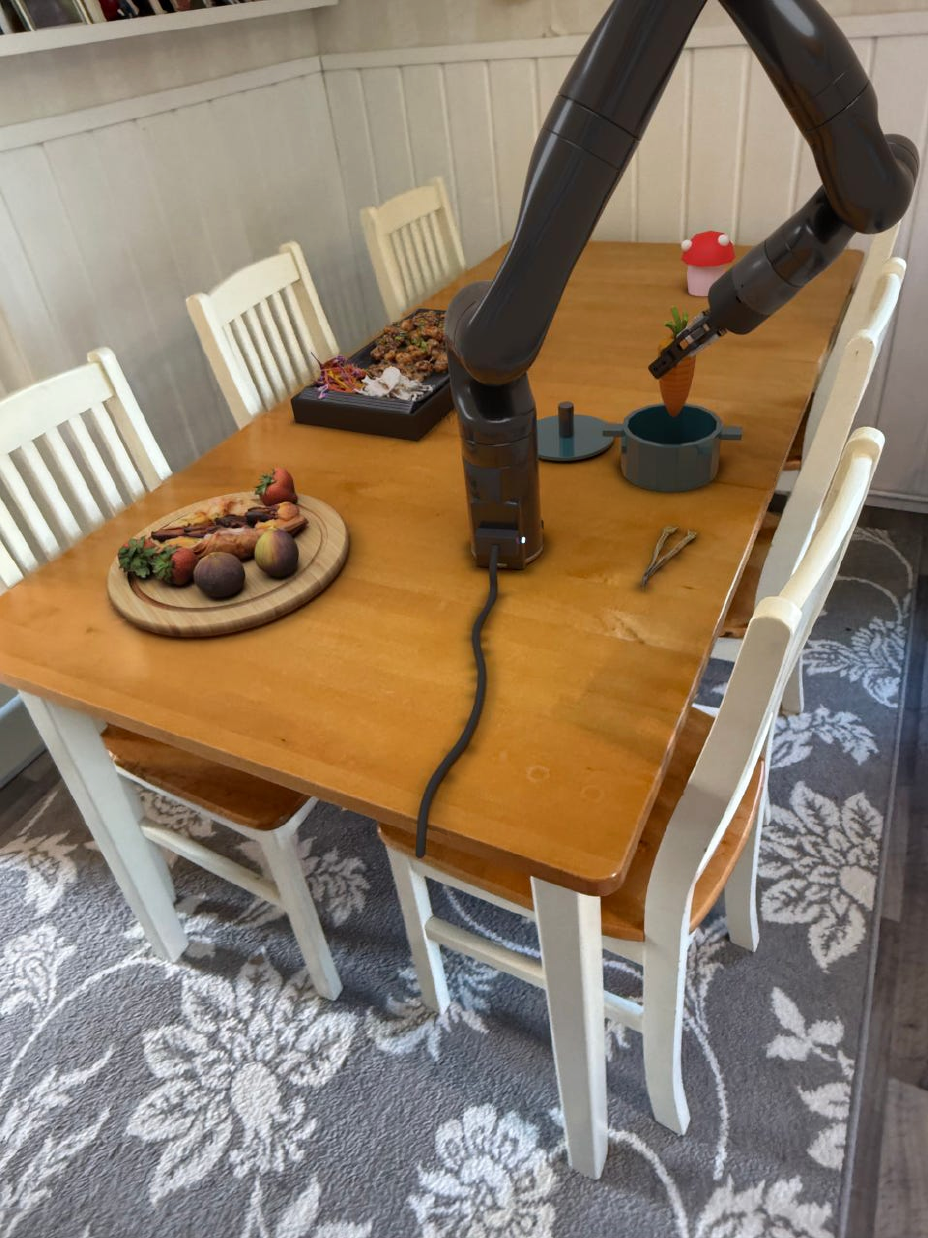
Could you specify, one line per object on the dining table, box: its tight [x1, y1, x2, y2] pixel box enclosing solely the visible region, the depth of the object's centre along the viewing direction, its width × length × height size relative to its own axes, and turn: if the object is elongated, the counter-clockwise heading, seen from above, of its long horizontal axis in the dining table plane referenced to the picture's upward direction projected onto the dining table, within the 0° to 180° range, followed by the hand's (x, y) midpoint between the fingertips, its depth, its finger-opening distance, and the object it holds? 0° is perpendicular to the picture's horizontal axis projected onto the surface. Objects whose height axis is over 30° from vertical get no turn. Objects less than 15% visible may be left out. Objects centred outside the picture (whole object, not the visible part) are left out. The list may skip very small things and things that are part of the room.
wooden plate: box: [106, 467, 350, 638], centre depth 112 cm, size 32×32×8 cm
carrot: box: [657, 305, 697, 418], centre depth 114 cm, size 5×5×15 cm
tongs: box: [640, 525, 698, 589], centre depth 105 cm, size 4×13×2 cm, turn 151°
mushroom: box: [680, 230, 736, 297], centre depth 176 cm, size 11×11×12 cm
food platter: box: [290, 308, 455, 442], centre depth 155 cm, size 45×25×10 cm, turn 153°
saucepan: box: [603, 402, 743, 493], centre depth 121 cm, size 14×19×7 cm
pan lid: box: [537, 401, 615, 462], centre depth 131 cm, size 15×15×6 cm
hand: (663, 365), depth 115 cm, fingers closed on carrot, 4 cm apart
